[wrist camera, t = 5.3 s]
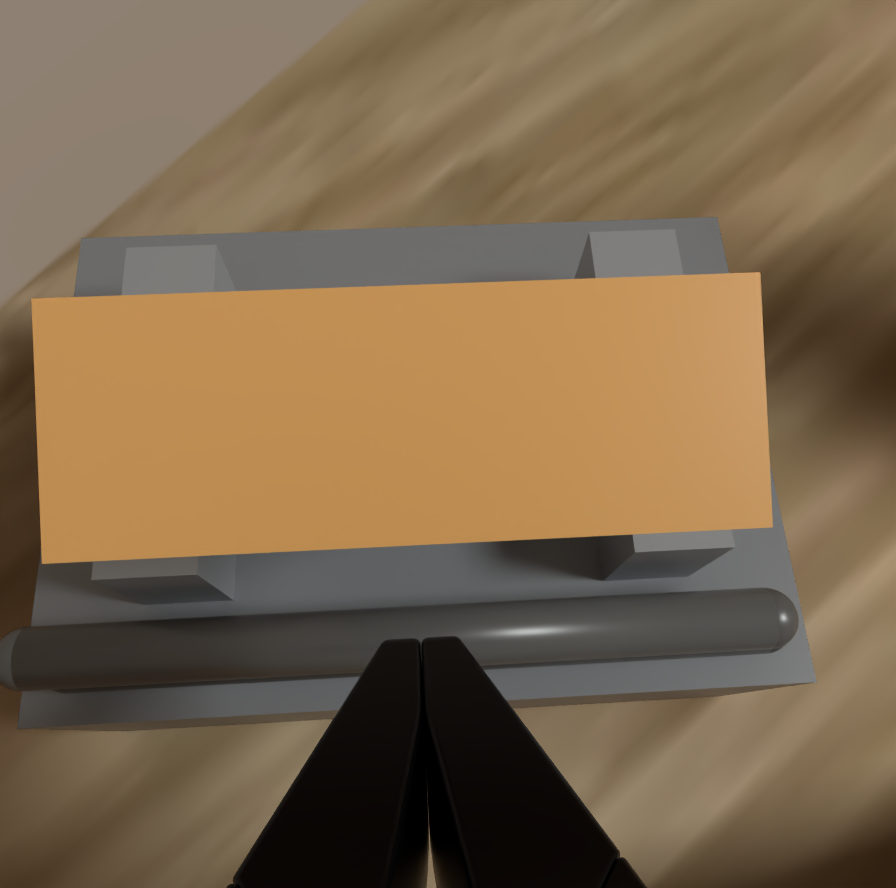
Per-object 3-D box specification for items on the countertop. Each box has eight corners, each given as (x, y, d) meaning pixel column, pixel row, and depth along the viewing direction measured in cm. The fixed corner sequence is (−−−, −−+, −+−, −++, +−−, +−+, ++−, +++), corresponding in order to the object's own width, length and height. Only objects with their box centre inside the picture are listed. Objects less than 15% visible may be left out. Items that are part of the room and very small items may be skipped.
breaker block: (719, 695, 19) (891, 671, 12) (124, 731, 18) (-67, 726, 11) (656, 327, 22) (759, 140, 15) (157, 346, 22) (28, 161, 15)
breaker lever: (557, 482, 15) (773, 527, 6) (272, 496, 15) (41, 563, 6) (552, 381, 15) (760, 271, 6) (268, 394, 15) (31, 299, 6)
